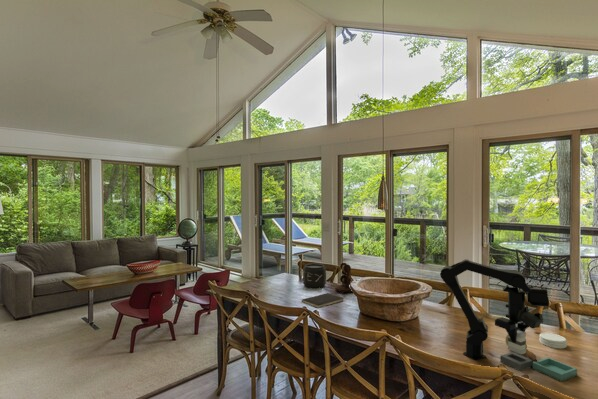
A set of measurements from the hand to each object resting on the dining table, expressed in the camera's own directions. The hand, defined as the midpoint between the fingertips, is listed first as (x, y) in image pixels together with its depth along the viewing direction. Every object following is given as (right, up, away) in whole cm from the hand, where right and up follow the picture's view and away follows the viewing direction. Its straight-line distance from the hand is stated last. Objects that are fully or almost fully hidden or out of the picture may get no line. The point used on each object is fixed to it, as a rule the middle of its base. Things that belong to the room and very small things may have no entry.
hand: (516, 342), depth 134 cm
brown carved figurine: (-54, -9, +108) cm, 121 cm away
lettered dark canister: (-76, -10, +122) cm, 144 cm away
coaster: (+29, -9, +19) cm, 36 cm away
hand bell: (+8, -5, +13) cm, 16 cm away
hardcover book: (-72, -10, +84) cm, 111 cm away
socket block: (0, -9, 0) cm, 9 cm away
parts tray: (+10, -9, -6) cm, 15 cm away
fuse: (0, -4, 0) cm, 4 cm away
